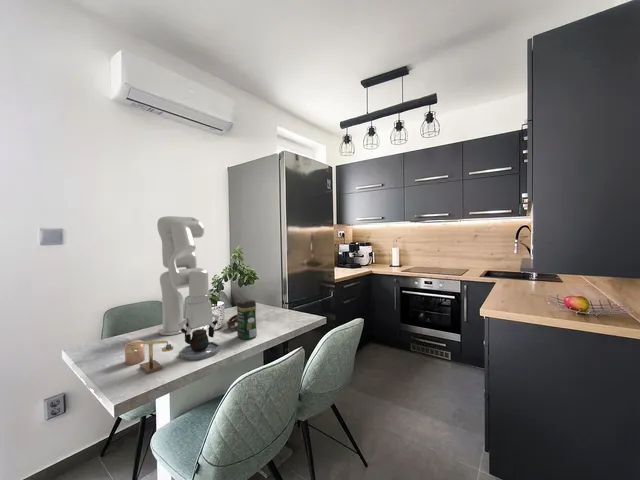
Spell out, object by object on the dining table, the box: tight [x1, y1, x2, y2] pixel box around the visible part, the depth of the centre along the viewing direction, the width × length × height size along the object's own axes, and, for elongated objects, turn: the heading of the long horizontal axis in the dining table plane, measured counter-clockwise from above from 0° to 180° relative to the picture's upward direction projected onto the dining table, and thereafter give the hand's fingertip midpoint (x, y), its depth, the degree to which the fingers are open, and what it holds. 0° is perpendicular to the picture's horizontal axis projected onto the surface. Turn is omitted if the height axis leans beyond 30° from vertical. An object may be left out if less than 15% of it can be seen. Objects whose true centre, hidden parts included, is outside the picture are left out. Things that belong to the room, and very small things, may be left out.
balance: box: [126, 340, 174, 375], centre depth 103 cm, size 8×16×11 cm, turn 138°
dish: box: [178, 341, 221, 361], centre depth 117 cm, size 15×15×2 cm
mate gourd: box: [189, 328, 210, 352], centre depth 117 cm, size 7×8×10 cm
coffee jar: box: [236, 297, 258, 340], centre depth 135 cm, size 10×8×19 cm
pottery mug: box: [226, 314, 238, 329], centre depth 150 cm, size 12×10×8 cm
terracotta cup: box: [124, 339, 146, 366], centre depth 110 cm, size 6×6×8 cm
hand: (200, 340), depth 117 cm, fingers open, 9 cm apart
